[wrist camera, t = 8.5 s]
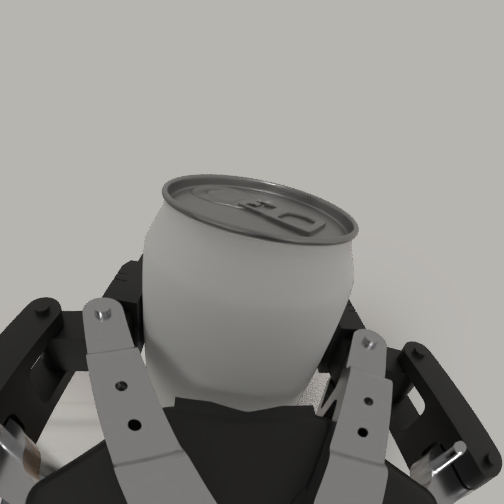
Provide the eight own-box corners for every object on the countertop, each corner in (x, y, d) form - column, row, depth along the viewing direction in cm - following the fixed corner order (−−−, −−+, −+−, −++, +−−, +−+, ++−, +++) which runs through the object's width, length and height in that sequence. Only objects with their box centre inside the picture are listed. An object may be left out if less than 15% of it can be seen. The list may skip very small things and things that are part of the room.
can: (205, 362, 17) (236, 168, 12) (293, 416, 14) (385, 218, 9) (129, 420, 12) (100, 181, 7) (229, 498, 9) (340, 288, 4)
